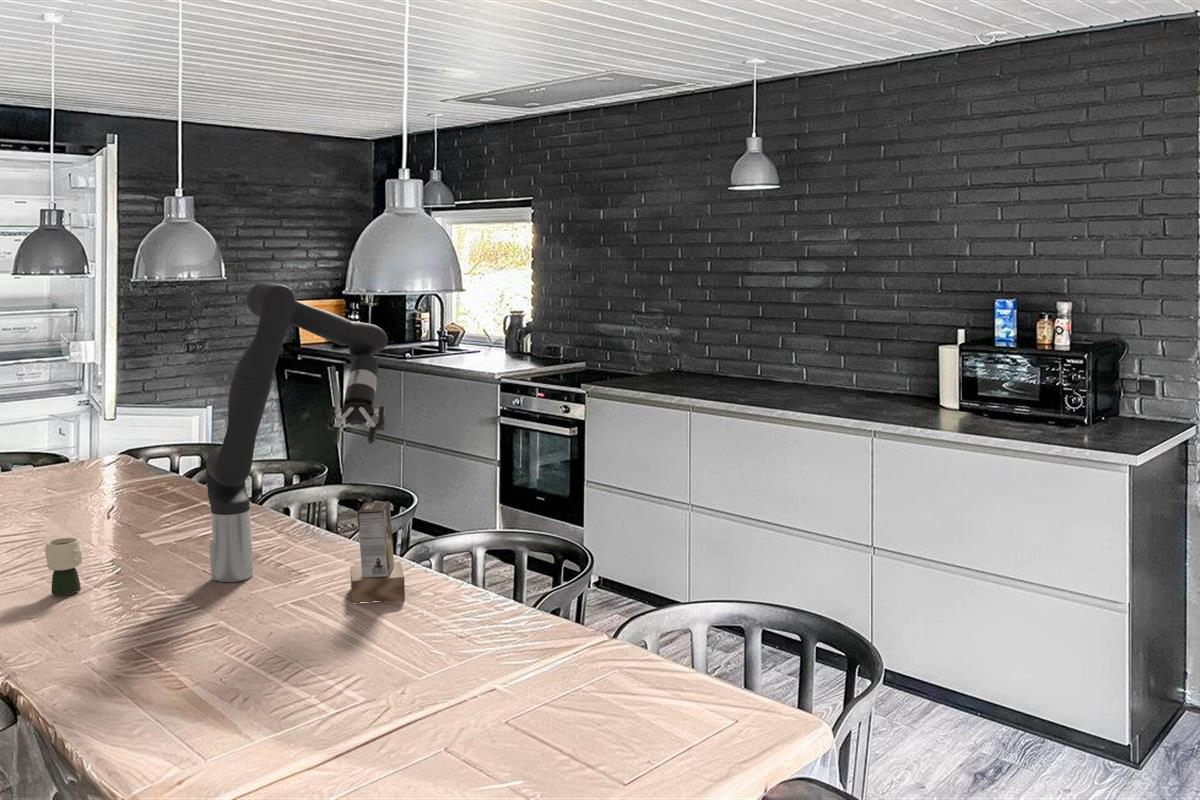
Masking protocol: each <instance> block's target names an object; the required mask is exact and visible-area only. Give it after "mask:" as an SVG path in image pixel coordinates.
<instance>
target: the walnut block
mask: <svg viewBox="0 0 1200 800" xmlns="http://www.w3.org/2000/svg"><path fill="white" fill-rule="evenodd" d="M401 563H402V562H401V561H400V562H399V561H397V562H396V561H395V562H394V566H393V568H392V570H391V572H390V574H389V576H387V577H367V578H363V577H362V567H361V564H358V565H350V567H349V568H350V570H349V571H350V590H351V591H350V592H351V600H352V601H351V602H352V604H353V603H360V602H373V601H389V602H396V601H395V600H401V601H406V600H405V599H406V593H405V591H406V590H405V588H406V587H405V574H404V571H403V567H402V564H401Z"/></svg>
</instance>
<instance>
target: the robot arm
mask: <svg viewBox="0 0 1200 800" xmlns="http://www.w3.org/2000/svg"><path fill="white" fill-rule="evenodd" d="M246 305H247V307H248V309H249V311H250V312H251V313H252V314H253V315H255V316H256V317H258V318H259V321H258V325H257V329H256V332H255V335H254V338H253V340H252V342H251V343H250V345H249V347H247V348H246V350H245V352H244V353H243V354H242V356H241V358H239V361H238V362H237V364H236V367H235V369H234V372H233V376H232V379H231V382H230V383H231V384H230V386H229V387H230V388H229V392H228V401H227V425H226V426H227V427H226V431H225V436H224V439H223V441H222V444H221V445H220V446H217V447H216V448H214V449H212V451H210V453H209V454H208V456H207V458H206V463H205V466H206V467H205V470H206V471H205V472H206V473H205V475H206V487H207V498H208V501H209V505H210V518H211V520H210V521H211V537H212V538H211V539H212V540H211V542H210V543H209V557H210V573H211V574H210V575H211V581H217V582H220V583H221V582H222V583H235V582H236V583H237V582H241V581H245V580H248V579H251V578H252V577H253V576H254V565H253V548H252V547H253V544H252V524H251V523H252V522H251V505H250V504H251V503H250V502H251V501H250V498H249V495H248V491H247V487H246V480H247V479H248V478H249V476H250V473H251V470H252V466H253V465H252V464H253V459H254V451H255V445H256V440H257V436H258V431H259V429H260V425H261V422H262V419H263V417H264V416H263V415H264V412H265V408H266V403H267V400H268V398H269V394H270V391H271V388H272V384H273V379H274V375H275V371H276V370H275V369H276V367H277V364H278V360H279V356H280V352H281V348H282V345H283V342H284V339H285V337H286V334H287V332H288V330H289V326H290V325H292V326H294V327H297V328H300V329H303V330H304V331H307V332H309V333H311V334H313V335H316V336H318V337H319V338H322V339H325V340H326V341H329V342H332V343H335V344H337V345H339V346H343V347H344V346H348V350H349V352H348V353H349V357H350V363H351V365H350V366H351V367H350V372H349V377H348V379H347V384H346V389H345V396H344V401H343V406H342V407H341V408H336V407H335V406H333V405H332V406H330V409H329V412H328V418H327V420H326V426H327V428H328V430H329V431H332V435H331V439H332V441H333V442H334V444H335V445H339V442H340V435H341V431H342V430H343V429H346V428H347V427H348V426H349V425H350V426H351V425H352V426H353V425H355V426H356V425H359V426H363V425H365V424H366V426H367V427H368V428H369V430H368V436H367V437H368V438H367V442H368V444H369V445H372V444H373V443H374V442H375V441H376V437H377V436H376V435H377V432H378V431H384V430H385V425H386V422H385V421H386V411H385V407H384V406H382V405H381V406H379V408H374V406H375V399H376V393H377V378H378V373H379V362H378V360H377V359H376V358H375V356H374V355H376V354H378V353H379V352H381V351H383V350H384V349H385V348H386V347H387V346H388V342H389V341H388V340H389V339H388V336H387V333H386V332H385V330H383V329H382V328H381V327H380V326H377V325H376V324H373V323H367V322H362V321H353V320H350V319H347V318H346V317H342V316H341V315H338V314H335V313H332V312H330V311H327V310H325V309H321V308H319V307H316V306H312V305H309V304H305V303H303V302H301V301H298V300H296V296H295V294H294V291H293V290H292V289H291V288H290V287H289V286H286V285H283V284H280V283H273V282H269V281H267V282H258V283H256V284H254V285H253V286H251V288H249V290H248V292H247V294H246ZM340 414H341V415H340ZM374 415H376V416H377V418H378V422H376V423H375V422H374V420H373V419H372V418H373V416H374ZM338 417H339V418H338ZM337 418H338V420H337V421H336V419H337Z"/></svg>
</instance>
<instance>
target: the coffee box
mask: <svg viewBox="0 0 1200 800" xmlns="http://www.w3.org/2000/svg"><path fill="white" fill-rule="evenodd" d="M357 523H358V538H359V550H360V551H359V553H360V563H361V564H360V565H361V567H362V577H363V578H367V577H387V576H389V574H390V572H391V570H392V568H393V566H394V563H395V559H394V544H393V531H392V530H393V529H392V515H391V501H390V500H388V501H377V502H376V501H374V502H364V503H363V504H362V505H361V507H360V508H359V510H358V511H357Z"/></svg>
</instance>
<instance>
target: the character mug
mask: <svg viewBox="0 0 1200 800" xmlns="http://www.w3.org/2000/svg"><path fill="white" fill-rule="evenodd" d="M44 551H45V558H46V565H47V568H48V570H50V571H53V573H52V575H51V578H52V579H51V594H52V595H54V596H64V595H68V594H70V593H72V594H73V593H76V592H80V591H81V590H82V587H81V581H80V578H79V574H78V573H79V572H78V570H77V567H78V566H79V565H81V564H82V562H83V557H82V555H83V554H82V551H81V545H80V539H79V538H78V537H75V536H73V537H72V536H71V537H69V536H67V537H59V538H58V537H57V538H54V539H51V540H48V541H46V543H45V548H44Z"/></svg>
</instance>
